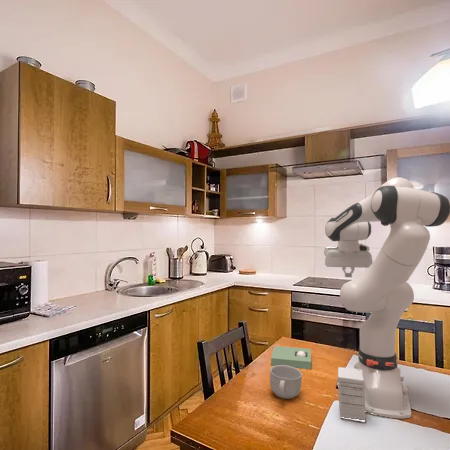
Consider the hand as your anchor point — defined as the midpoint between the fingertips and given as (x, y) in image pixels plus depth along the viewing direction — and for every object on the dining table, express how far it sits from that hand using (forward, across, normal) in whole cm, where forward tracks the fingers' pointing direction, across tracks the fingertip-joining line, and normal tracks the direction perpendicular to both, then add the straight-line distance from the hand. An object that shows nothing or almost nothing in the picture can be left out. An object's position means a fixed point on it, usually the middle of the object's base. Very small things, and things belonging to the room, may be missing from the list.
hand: (348, 277), depth 146 cm
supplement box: (+34, -5, -51) cm, 62 cm away
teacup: (+34, -26, -45) cm, 62 cm away
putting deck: (+34, -25, -15) cm, 45 cm away
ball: (+32, -21, -15) cm, 41 cm away
